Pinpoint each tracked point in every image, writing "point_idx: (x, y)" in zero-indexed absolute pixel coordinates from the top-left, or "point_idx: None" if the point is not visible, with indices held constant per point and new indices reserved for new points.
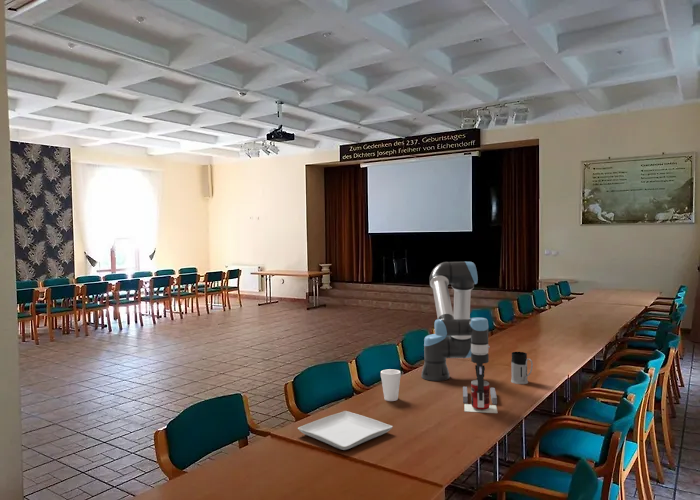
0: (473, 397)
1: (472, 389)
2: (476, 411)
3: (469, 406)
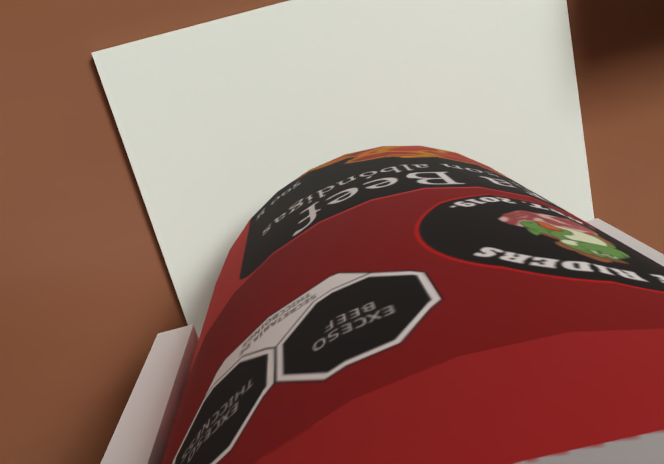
0: (229, 299)
1: (242, 396)
2: (182, 272)
3: (422, 79)
